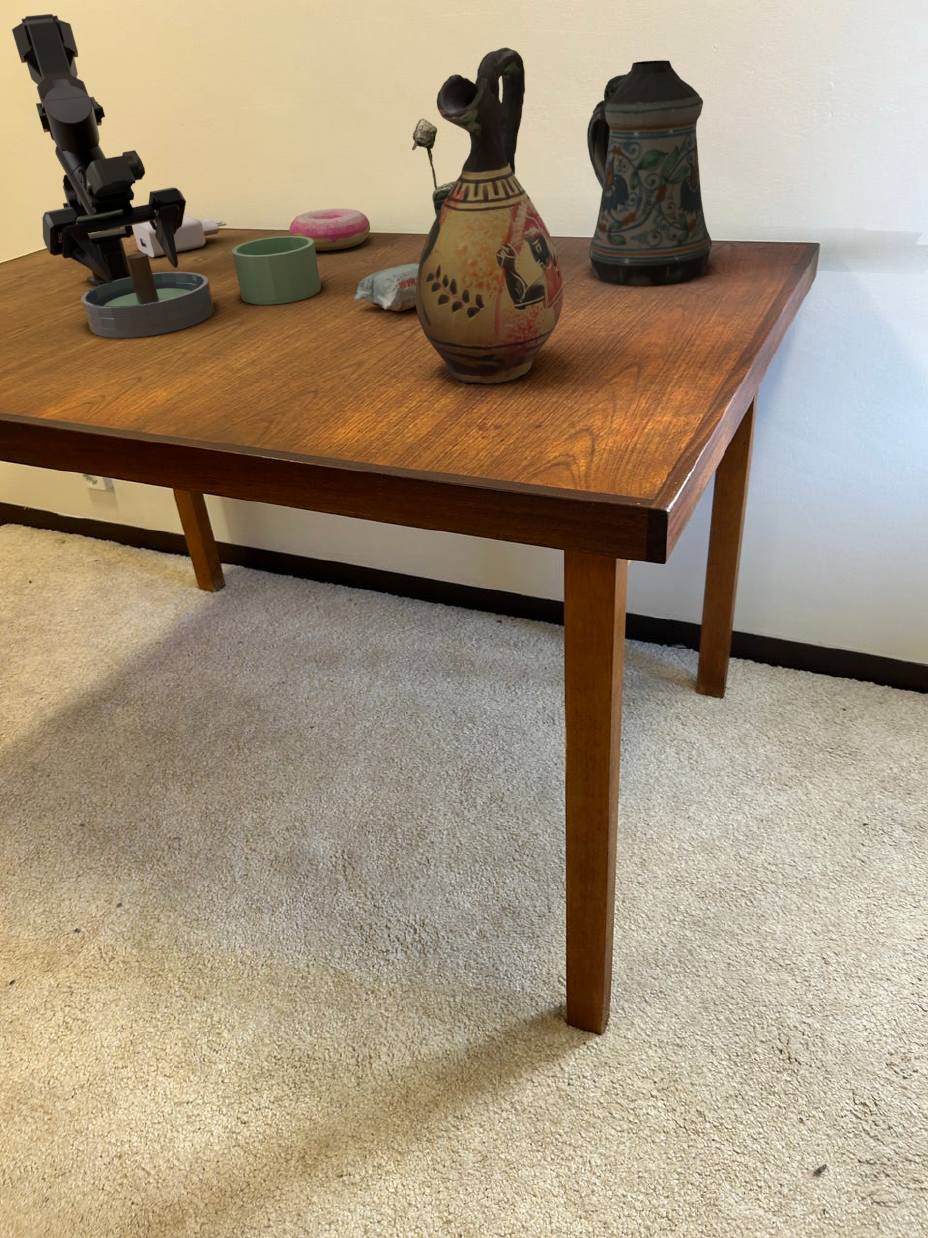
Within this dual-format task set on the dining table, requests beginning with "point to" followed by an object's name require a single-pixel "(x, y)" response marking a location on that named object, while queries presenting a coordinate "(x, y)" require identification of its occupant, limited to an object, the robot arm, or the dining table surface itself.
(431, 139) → the plant with pod
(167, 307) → the pan
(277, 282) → the green cylinder
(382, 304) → the packaged food
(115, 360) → the dining table surface
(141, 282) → the lid
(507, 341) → the ceramic jug
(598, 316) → the dining table surface
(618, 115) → the beer stein
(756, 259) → the dining table surface
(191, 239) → the charger
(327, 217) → the donut
